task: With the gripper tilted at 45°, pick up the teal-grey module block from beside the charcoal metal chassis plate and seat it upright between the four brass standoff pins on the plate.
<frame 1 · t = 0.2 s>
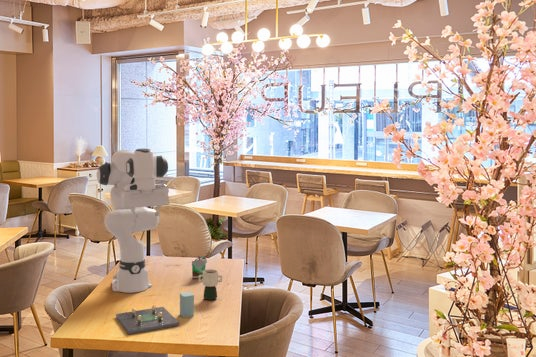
hand: (146, 217, 230), 39 cm above the table, tool pointing down, fingers open, 8 cm apart
chassis plate: (146, 321, 212), on the table
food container: (200, 277, 275), on the table
module block: (186, 315, 220), on the table
character mug: (210, 299, 241), on the table
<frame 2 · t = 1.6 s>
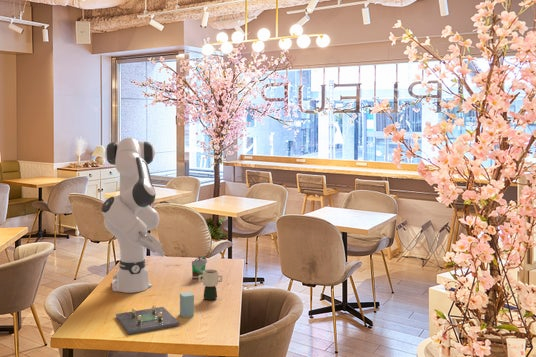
hand: (159, 253, 212), 28 cm above the table, tool tilted 45°, fingers open, 8 cm apart
nothing on the table moved.
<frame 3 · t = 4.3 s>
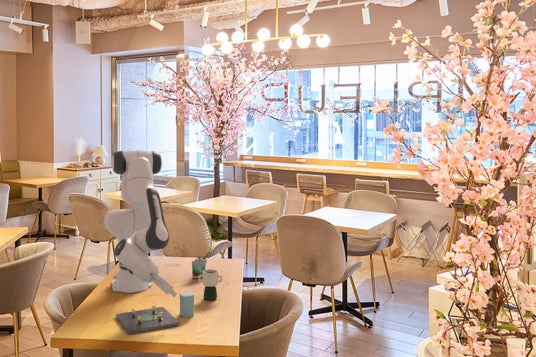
hand: (171, 291, 215), 11 cm above the table, tool tilted 45°, fingers open, 8 cm apart
nothing on the table moved.
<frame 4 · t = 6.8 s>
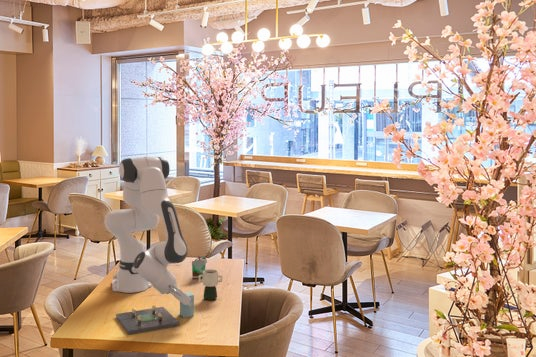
hand: (188, 302, 220), 5 cm above the table, tool tilted 45°, fingers closed on module block, 4 cm apart
module block: (186, 315, 220), on the table, touching gripper
everything else where it was.
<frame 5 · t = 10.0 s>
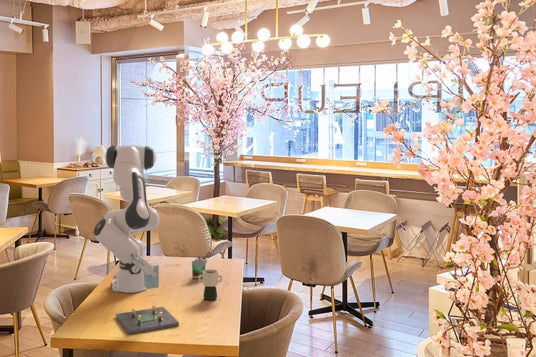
hand: (152, 273, 211), 20 cm above the table, tool tilted 45°, fingers closed on module block, 4 cm apart
module block: (151, 286, 211), point 14 cm above the table, touching gripper
everything else where it was.
when the fingers open (8 cm above the table, at t = 13.3 s): module block drops 1 cm, resting on chassis plate.
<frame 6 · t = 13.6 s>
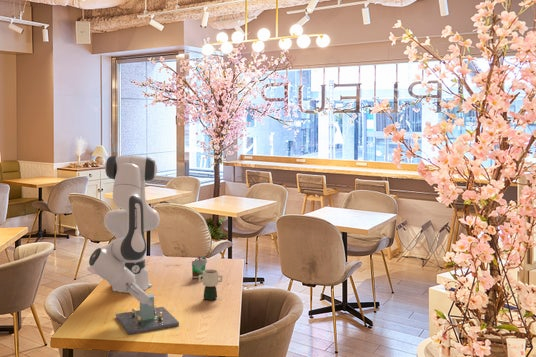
hand: (148, 301, 211), 8 cm above the table, tool tilted 45°, fingers open, 7 cm apart
module block: (146, 317, 212), point 2 cm above the table, touching chassis plate
everything else where it was.
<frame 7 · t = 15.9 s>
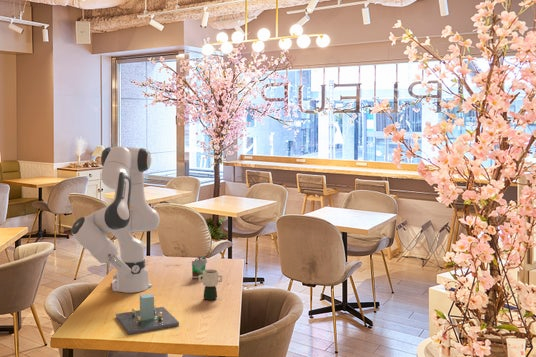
hand: (129, 274, 208), 20 cm above the table, tool tilted 40°, fingers open, 8 cm apart
nothing on the table moved.
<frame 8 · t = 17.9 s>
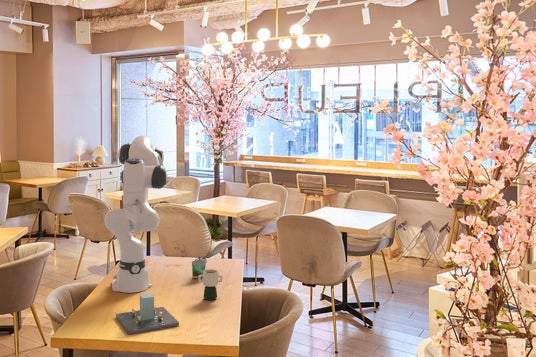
hand: (134, 231, 217), 35 cm above the table, tool pointing down, fingers open, 8 cm apart
nothing on the table moved.
at the end: module block 0.1 cm off-centre on the chassis plate, point 1.7 cm above the chassis plate's base; module block tilted 0°; the gripper is holding nothing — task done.
